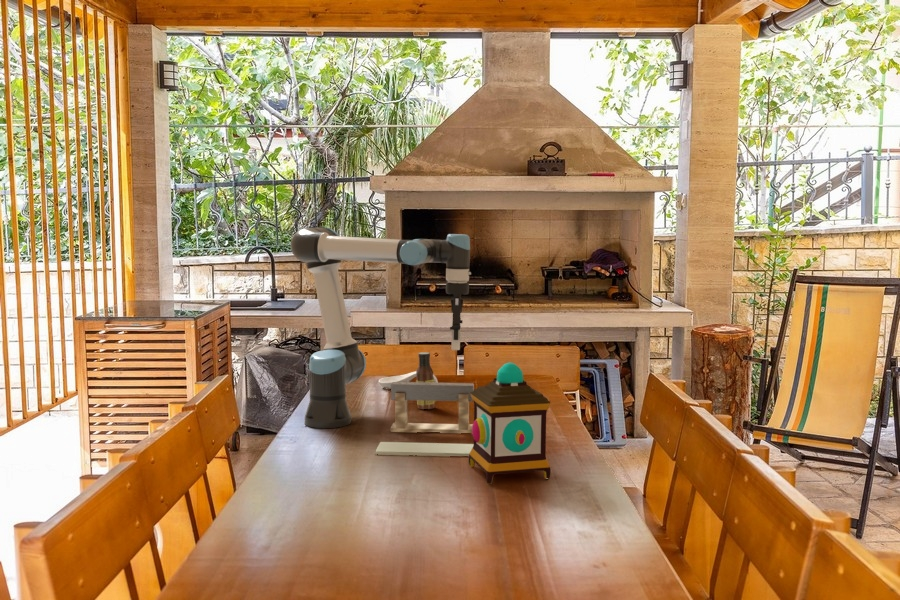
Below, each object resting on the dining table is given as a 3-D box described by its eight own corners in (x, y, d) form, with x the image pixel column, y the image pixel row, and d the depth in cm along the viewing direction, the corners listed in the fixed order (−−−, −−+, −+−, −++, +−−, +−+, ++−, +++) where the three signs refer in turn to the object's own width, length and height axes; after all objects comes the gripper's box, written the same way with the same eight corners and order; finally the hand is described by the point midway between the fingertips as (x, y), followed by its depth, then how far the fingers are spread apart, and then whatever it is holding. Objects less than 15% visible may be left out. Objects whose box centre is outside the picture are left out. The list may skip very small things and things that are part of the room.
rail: (391, 399, 269) (391, 384, 268) (392, 397, 273) (392, 381, 272) (473, 401, 267) (473, 385, 267) (473, 398, 271) (473, 383, 271)
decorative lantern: (484, 487, 215) (485, 370, 212) (462, 465, 234) (463, 357, 231) (557, 481, 220) (560, 367, 217) (530, 460, 239) (532, 354, 236)
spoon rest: (377, 391, 329) (377, 373, 329) (379, 385, 341) (379, 367, 340) (438, 391, 330) (438, 373, 329) (438, 385, 342) (438, 368, 341)
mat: (375, 454, 243) (375, 451, 243) (380, 445, 253) (380, 441, 253) (473, 457, 241) (473, 453, 241) (474, 447, 251) (474, 444, 251)
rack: (390, 431, 268) (390, 393, 267) (393, 426, 275) (393, 388, 274) (472, 433, 267) (473, 395, 265) (473, 428, 274) (473, 390, 273)
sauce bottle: (435, 406, 304) (435, 351, 302) (433, 410, 298) (433, 354, 296) (417, 405, 305) (417, 351, 302) (415, 409, 298) (415, 354, 296)
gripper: (469, 285, 263) (467, 353, 265) (468, 278, 288) (467, 340, 290) (445, 284, 263) (443, 352, 266) (446, 278, 288) (445, 340, 290)
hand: (455, 346), depth 278 cm, fingers open, 13 cm apart
